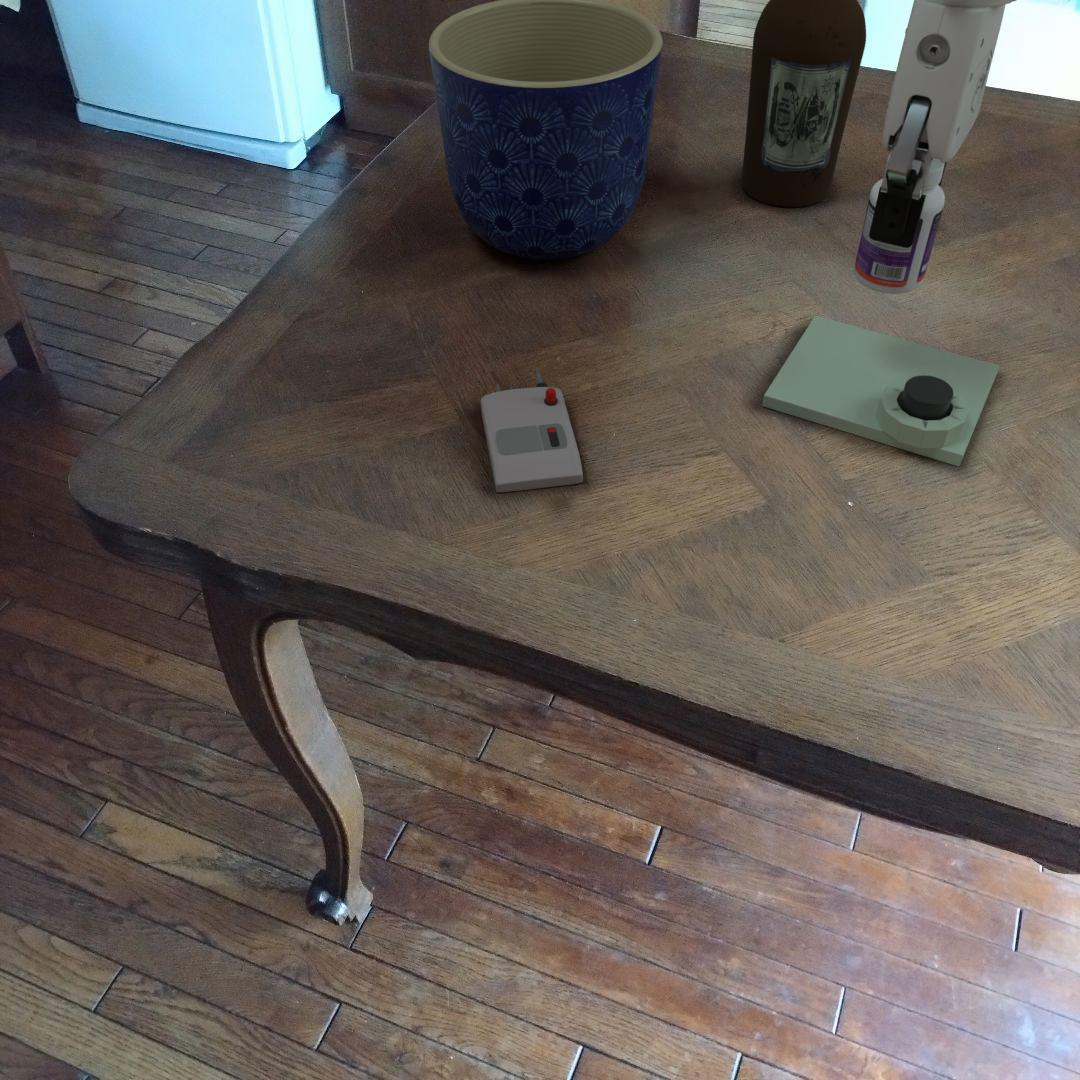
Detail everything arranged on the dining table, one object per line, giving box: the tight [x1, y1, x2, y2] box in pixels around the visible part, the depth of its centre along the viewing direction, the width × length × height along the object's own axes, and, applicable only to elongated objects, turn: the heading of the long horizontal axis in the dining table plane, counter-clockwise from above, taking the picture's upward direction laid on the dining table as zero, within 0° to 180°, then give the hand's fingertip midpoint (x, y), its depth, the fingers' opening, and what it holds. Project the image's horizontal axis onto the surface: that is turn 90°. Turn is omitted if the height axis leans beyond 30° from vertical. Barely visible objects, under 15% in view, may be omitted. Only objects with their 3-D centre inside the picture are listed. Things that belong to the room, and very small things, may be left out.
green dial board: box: [761, 315, 1000, 467], centre depth 87 cm, size 16×14×3 cm
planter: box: [428, 0, 664, 261], centre depth 100 cm, size 21×21×19 cm
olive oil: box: [740, 0, 867, 208], centre depth 104 cm, size 11×11×25 cm
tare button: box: [900, 375, 953, 421], centre depth 82 cm, size 4×4×2 cm
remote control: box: [480, 365, 584, 493], centre depth 83 cm, size 7×16×3 cm, turn 9°
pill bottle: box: [853, 148, 946, 295], centre depth 80 cm, size 5×5×10 cm
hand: (902, 221), depth 80 cm, fingers closed on pill bottle, 5 cm apart
